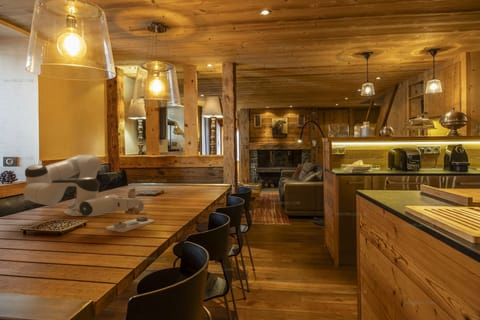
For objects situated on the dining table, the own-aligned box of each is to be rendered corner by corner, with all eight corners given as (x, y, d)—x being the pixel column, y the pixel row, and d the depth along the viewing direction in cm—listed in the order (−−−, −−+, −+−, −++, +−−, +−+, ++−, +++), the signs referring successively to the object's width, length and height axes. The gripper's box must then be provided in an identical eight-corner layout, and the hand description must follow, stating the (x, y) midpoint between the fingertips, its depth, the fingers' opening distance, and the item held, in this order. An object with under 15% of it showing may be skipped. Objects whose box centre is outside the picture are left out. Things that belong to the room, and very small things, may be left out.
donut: (144, 212, 200) (143, 197, 199) (143, 213, 196) (143, 198, 196) (128, 212, 197) (128, 198, 197) (127, 214, 194) (127, 199, 193)
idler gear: (122, 213, 162) (121, 189, 162) (131, 210, 169) (131, 187, 168) (131, 214, 159) (131, 189, 159) (140, 212, 166) (140, 188, 165)
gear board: (106, 229, 156) (106, 222, 156) (139, 219, 178) (139, 213, 178) (122, 232, 151) (122, 225, 151) (154, 222, 173) (154, 215, 173)
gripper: (98, 207, 157) (119, 203, 169) (126, 211, 148) (146, 206, 160) (98, 195, 157) (119, 192, 169) (126, 198, 148) (146, 195, 160)
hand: (132, 199), depth 165 cm, fingers closed on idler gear, 4 cm apart
